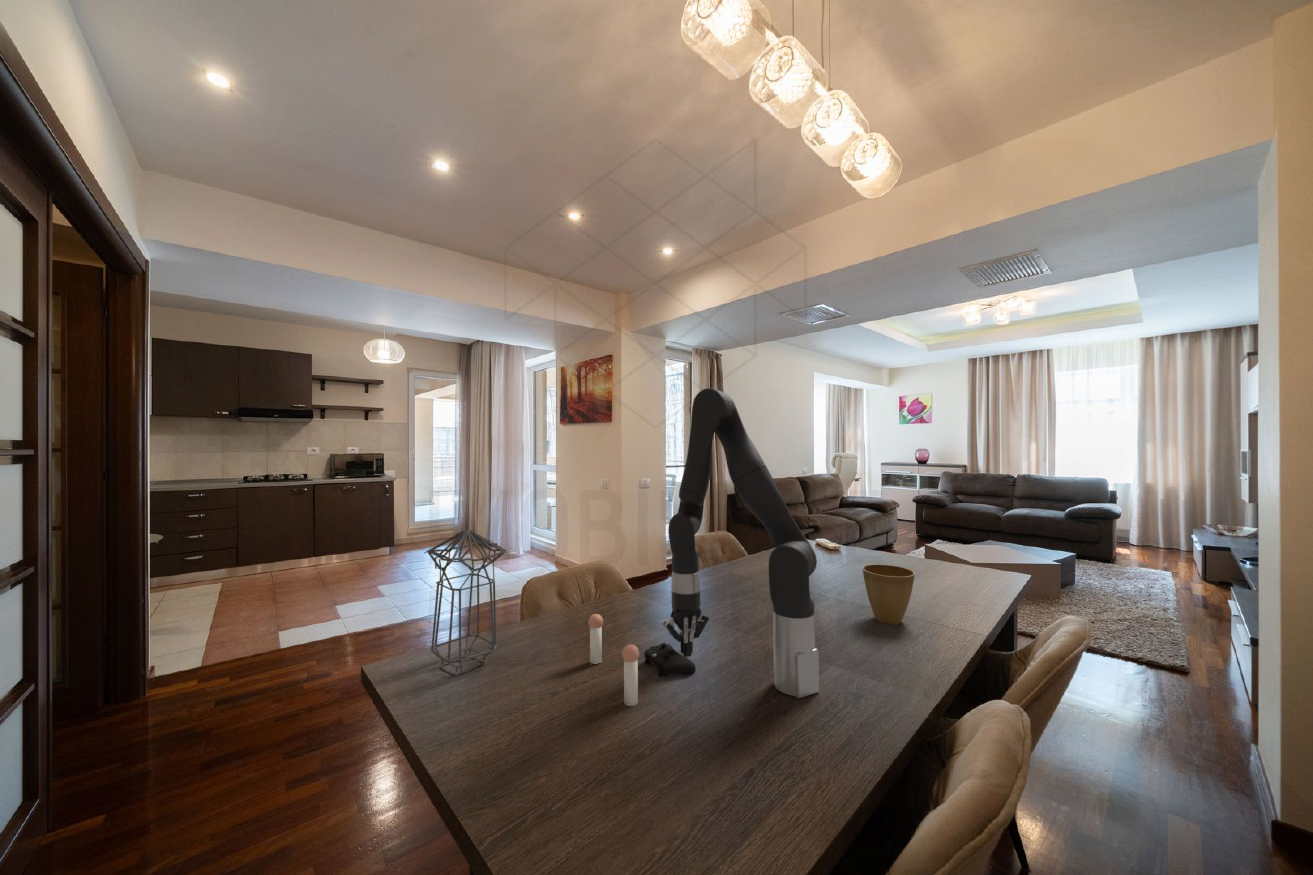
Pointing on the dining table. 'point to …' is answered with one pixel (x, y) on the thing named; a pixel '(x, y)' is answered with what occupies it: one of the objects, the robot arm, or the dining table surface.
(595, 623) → the posts
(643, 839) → the dining table surface
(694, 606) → the robot arm
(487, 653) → the geometric lantern
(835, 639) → the dining table surface
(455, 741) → the dining table surface
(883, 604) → the plant pot
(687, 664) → the gaming controller
